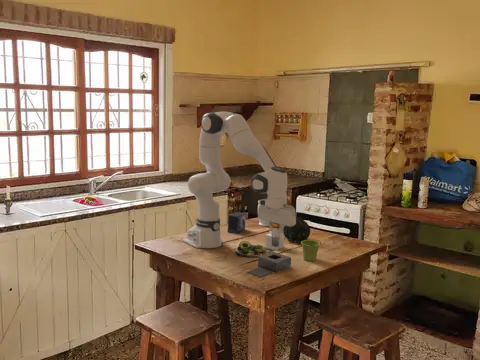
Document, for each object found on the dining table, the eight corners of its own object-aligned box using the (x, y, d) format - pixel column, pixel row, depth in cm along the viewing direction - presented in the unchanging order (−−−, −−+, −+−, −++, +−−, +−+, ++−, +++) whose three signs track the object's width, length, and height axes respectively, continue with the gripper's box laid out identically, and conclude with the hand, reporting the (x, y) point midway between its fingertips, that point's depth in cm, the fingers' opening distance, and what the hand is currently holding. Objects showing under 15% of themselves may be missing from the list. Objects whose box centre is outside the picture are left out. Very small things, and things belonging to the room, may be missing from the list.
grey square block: (257, 266, 225) (258, 256, 225) (272, 261, 233) (273, 251, 232) (275, 273, 218) (276, 262, 217) (290, 267, 226) (291, 257, 225)
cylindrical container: (269, 245, 223) (270, 222, 222) (275, 243, 226) (275, 221, 224) (276, 247, 221) (276, 224, 219) (281, 245, 224) (281, 222, 222)
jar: (277, 225, 300) (278, 201, 297) (265, 227, 293) (266, 203, 290) (265, 221, 307) (265, 198, 305) (253, 224, 300) (254, 200, 297)
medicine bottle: (273, 244, 260) (274, 223, 258) (284, 247, 256) (285, 225, 254) (265, 247, 255) (266, 225, 253) (276, 250, 250) (277, 228, 248)
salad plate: (275, 249, 254) (276, 240, 253) (272, 260, 236) (272, 251, 236) (239, 246, 257) (239, 237, 256) (233, 257, 239) (234, 248, 239)
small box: (236, 234, 278) (237, 216, 276) (227, 232, 281) (227, 214, 279) (245, 230, 287) (246, 212, 285) (236, 228, 290) (236, 211, 288)
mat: (247, 272, 218) (247, 271, 218) (258, 268, 224) (258, 267, 224) (260, 277, 213) (260, 276, 212) (271, 272, 218) (271, 272, 218)
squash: (301, 225, 279) (289, 208, 272) (319, 233, 267) (306, 215, 260) (286, 243, 276) (273, 227, 268) (303, 252, 264) (290, 234, 256)
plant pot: (323, 260, 238) (324, 243, 236) (311, 264, 231) (312, 246, 230) (308, 255, 244) (309, 238, 243) (296, 259, 238) (297, 242, 236)
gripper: (299, 205, 215) (298, 235, 218) (264, 198, 229) (264, 226, 232) (290, 207, 211) (289, 238, 213) (256, 200, 225) (255, 228, 227)
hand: (276, 231), depth 223 cm, fingers closed on cylindrical container, 4 cm apart
